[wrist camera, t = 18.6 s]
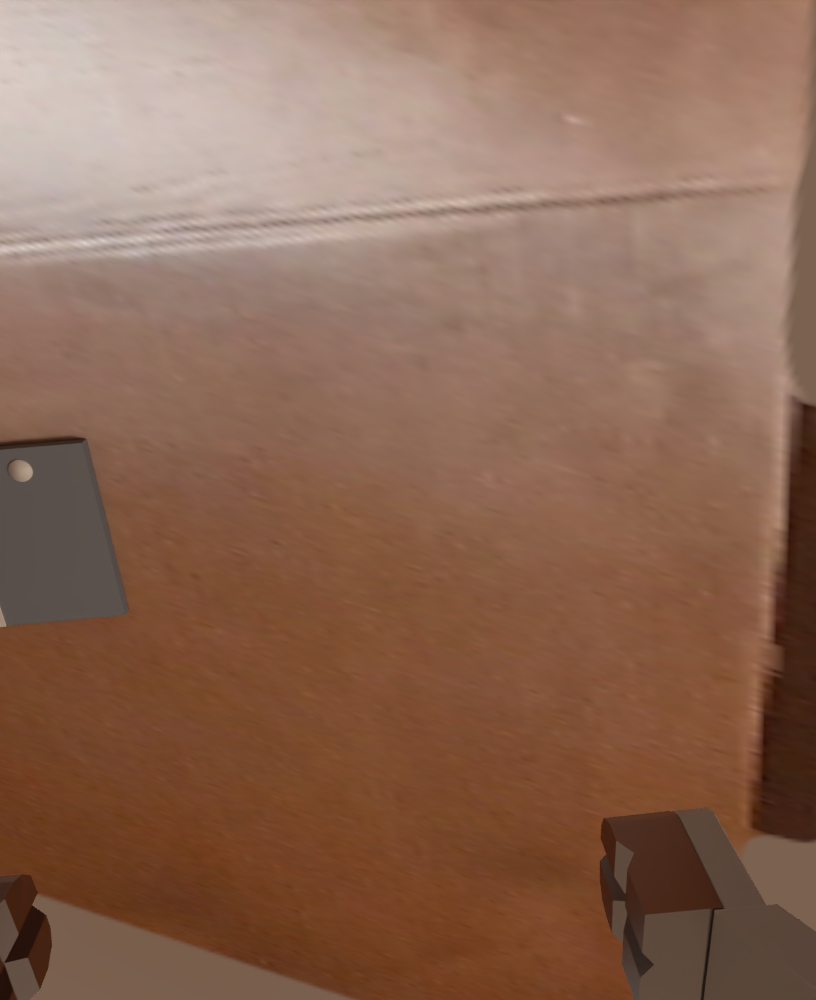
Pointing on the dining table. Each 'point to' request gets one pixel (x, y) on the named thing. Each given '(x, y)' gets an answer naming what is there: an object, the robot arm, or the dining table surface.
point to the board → (54, 537)
